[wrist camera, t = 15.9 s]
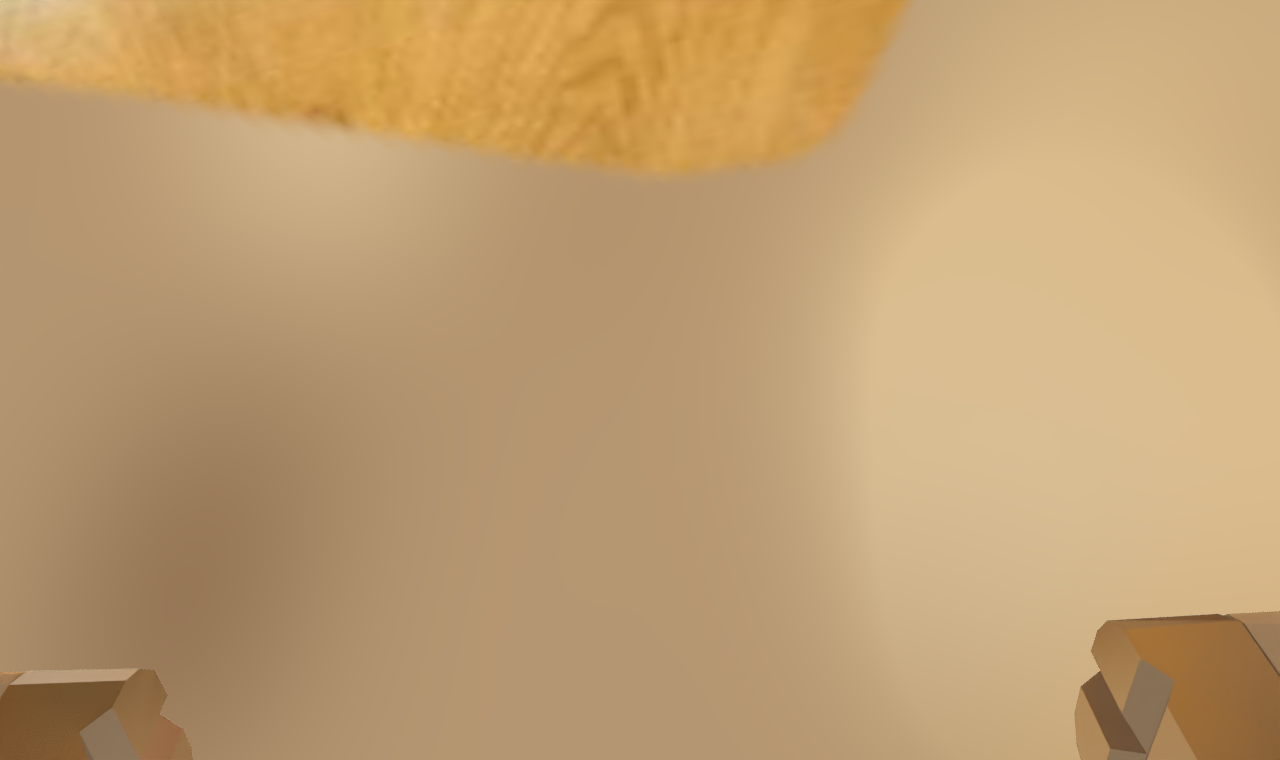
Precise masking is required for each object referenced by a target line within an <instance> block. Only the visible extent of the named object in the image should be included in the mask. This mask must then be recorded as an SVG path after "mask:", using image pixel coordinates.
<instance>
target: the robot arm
mask: <svg viewBox="0 0 1280 760" xmlns="http://www.w3.org/2000/svg"><path fill="white" fill-rule="evenodd" d="M1091 652H1092V654H1093V656H1094V658H1095V660H1096V662H1097V664H1098V666H1099V668H1100V670H1101V671H1099V672H1098V673H1097V674H1096V675H1094V676H1093V677H1092V678H1091V679H1090V680H1089V681H1087V682H1086V683H1085V684H1083V685H1082V686H1081V688H1080V693H1079V697H1078V701H1077V705H1076V710H1075V725H1076V740H1077V747H1078V751H1079V754H1080V757H1081V760H1280V611H1279V612H1259V613H1240V614H1227V615H1220V614H1210V615H1194V616H1193V615H1192V616H1175V617H1159V618H1142V619H1126V620H1109V621H1106V622H1105V624H1104V625H1103V626H1102V627H1101V628H1100V629H1099V630H1098V631H1097V634H1096V637H1095V640H1094V643H1093V647H1092V650H1091ZM167 696H168V695H167V693H166V691H165V689H164V687H163V685H162V683H161V681H160V679H159V678H158V676H157V674H156V672H155V670H150V669H101V670H100V669H96V670H50V671H27V672H0V760H193V758H192V750H191V746H190V744H189V742H188V739H187V737H186V735H185V732H184V730H183V729H182V728H181V727H179V726H177V725H176V724H174V723H173V722H171V721H170V720H168V719H167V718H165V717H163V716H162V715H160V712H161V710H162V708H163V705H164V703H165V701H166V699H167Z"/></svg>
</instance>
